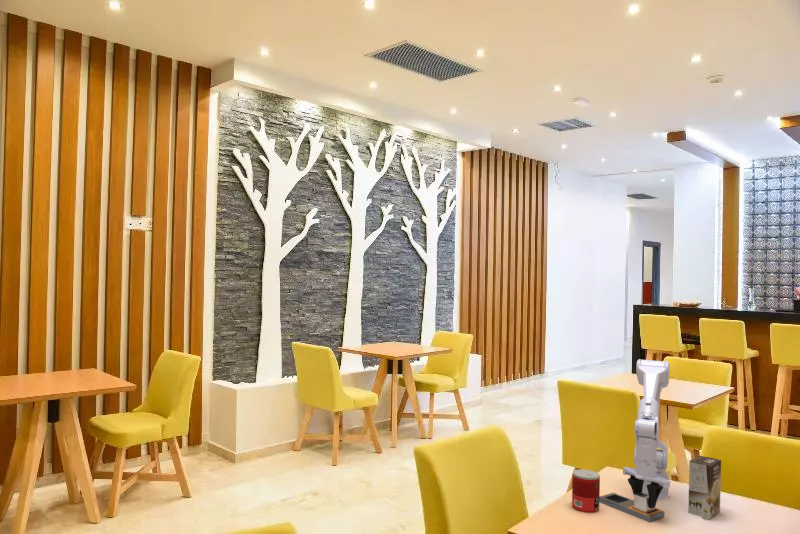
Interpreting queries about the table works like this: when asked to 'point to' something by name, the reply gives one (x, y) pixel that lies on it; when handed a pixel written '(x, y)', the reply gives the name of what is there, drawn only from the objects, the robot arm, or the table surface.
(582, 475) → the canned food
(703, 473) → the coffee box
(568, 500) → the table surface
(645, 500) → the silver square slider
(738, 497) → the table surface
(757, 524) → the table surface
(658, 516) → the rail
